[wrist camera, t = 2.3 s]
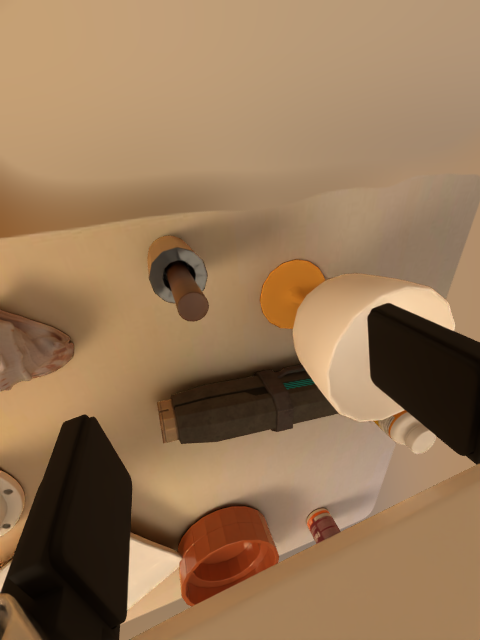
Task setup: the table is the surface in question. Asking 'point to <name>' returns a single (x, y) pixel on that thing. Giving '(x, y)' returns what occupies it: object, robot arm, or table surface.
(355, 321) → the cup
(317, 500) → the table surface
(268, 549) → the bowl
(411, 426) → the supplement bottle
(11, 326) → the seashell
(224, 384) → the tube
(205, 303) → the stick
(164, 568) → the salad plate
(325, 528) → the pill bottle
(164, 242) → the holder
